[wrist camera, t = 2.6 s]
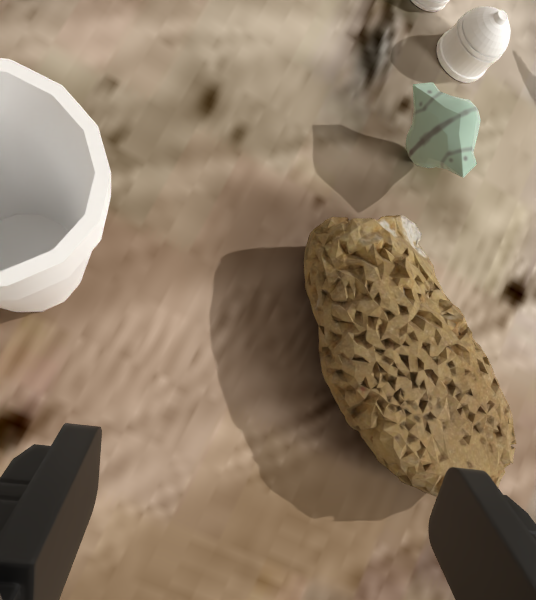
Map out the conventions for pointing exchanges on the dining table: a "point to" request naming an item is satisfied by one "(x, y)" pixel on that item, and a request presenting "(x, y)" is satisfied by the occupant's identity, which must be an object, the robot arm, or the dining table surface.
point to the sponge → (403, 354)
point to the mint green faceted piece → (442, 130)
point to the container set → (471, 40)
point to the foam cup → (46, 190)
